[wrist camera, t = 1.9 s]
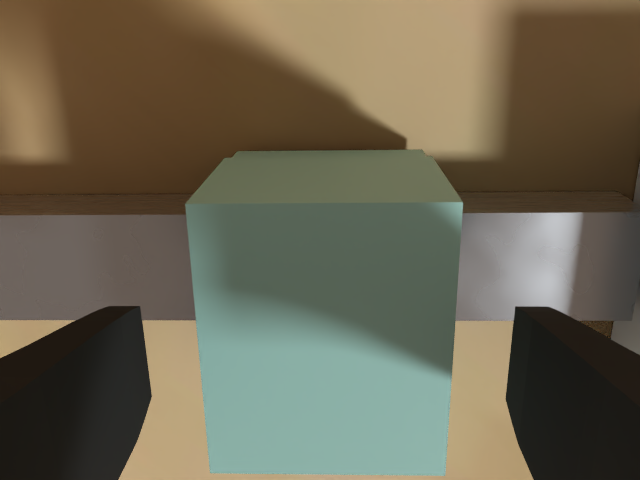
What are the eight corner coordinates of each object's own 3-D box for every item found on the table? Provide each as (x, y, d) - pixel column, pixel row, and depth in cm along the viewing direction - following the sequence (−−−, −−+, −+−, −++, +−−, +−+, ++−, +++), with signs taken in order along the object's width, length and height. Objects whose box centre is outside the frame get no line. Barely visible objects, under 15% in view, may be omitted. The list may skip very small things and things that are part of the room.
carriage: (414, 341, 18) (445, 475, 13) (248, 340, 19) (209, 472, 13) (422, 142, 16) (463, 202, 11) (236, 143, 17) (185, 203, 11)
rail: (601, 289, 18) (632, 320, 16) (-124, 289, 19) (-175, 320, 17) (616, 191, 17) (651, 212, 15) (-151, 196, 18) (-208, 216, 16)
